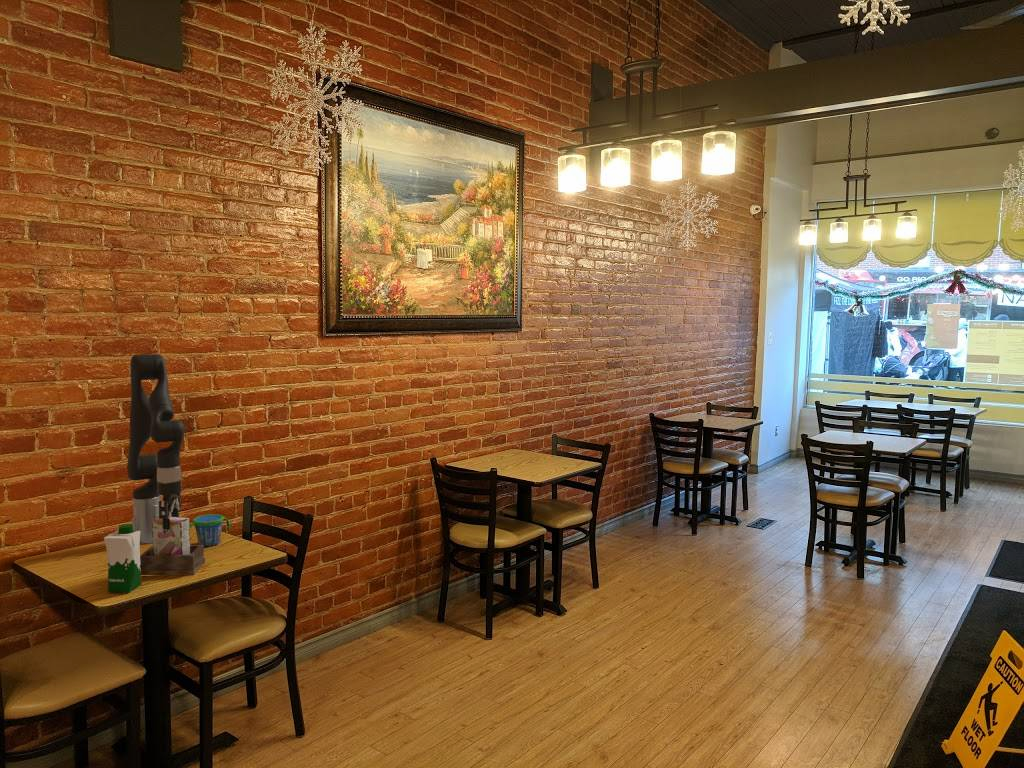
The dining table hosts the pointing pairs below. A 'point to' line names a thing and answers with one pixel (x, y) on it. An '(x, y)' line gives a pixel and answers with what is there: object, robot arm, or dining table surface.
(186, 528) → the candy bar box
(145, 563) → the slot holder
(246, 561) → the dining table surface
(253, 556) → the dining table surface
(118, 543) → the milk carton
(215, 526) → the snack cup
